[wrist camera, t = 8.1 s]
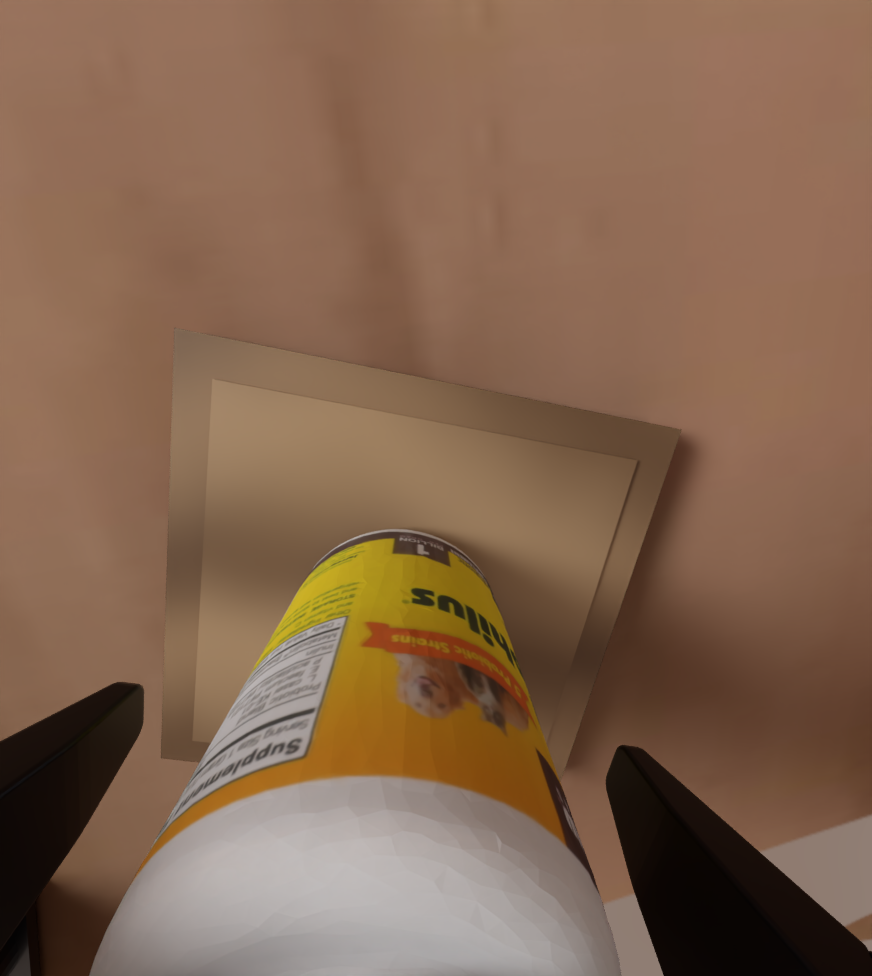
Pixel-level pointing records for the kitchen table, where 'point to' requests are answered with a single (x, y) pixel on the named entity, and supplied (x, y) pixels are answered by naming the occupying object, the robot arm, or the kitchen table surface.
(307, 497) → the walnut base
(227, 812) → the supplement bottle
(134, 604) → the kitchen table surface
